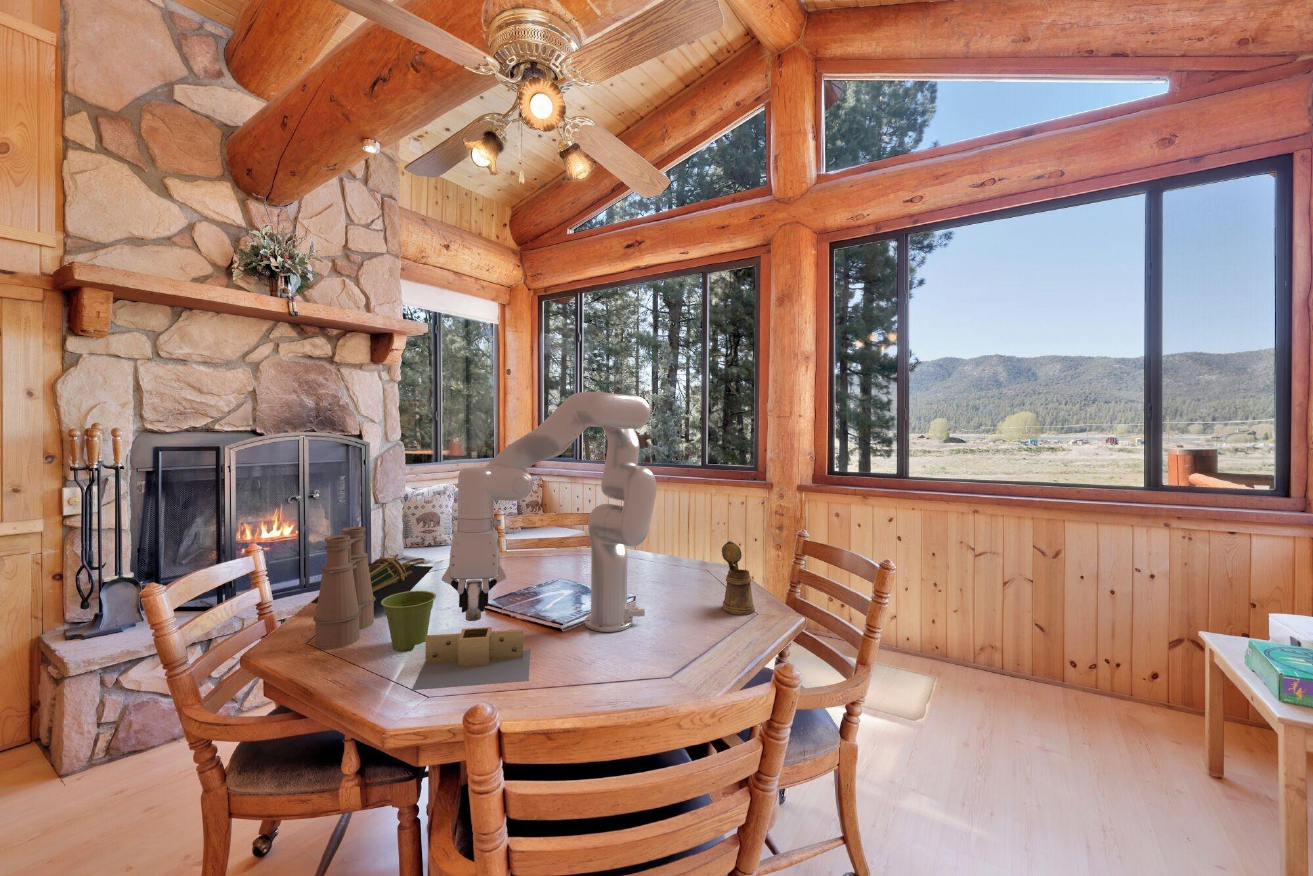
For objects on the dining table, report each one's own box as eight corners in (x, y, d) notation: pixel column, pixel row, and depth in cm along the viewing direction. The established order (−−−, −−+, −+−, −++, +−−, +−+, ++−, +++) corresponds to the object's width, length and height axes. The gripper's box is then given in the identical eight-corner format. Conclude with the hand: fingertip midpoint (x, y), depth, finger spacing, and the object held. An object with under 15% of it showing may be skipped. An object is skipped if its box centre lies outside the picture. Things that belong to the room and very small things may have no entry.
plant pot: (396, 635, 136) (396, 590, 136) (444, 636, 136) (444, 591, 136) (370, 655, 124) (370, 606, 124) (422, 656, 124) (422, 607, 124)
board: (530, 655, 126) (530, 650, 126) (528, 686, 111) (528, 680, 111) (427, 662, 121) (427, 657, 121) (411, 696, 106) (411, 690, 106)
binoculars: (352, 648, 128) (352, 541, 127) (305, 650, 126) (305, 542, 126) (380, 617, 148) (380, 524, 148) (340, 618, 147) (340, 525, 146)
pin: (481, 615, 121) (482, 579, 121) (480, 620, 118) (481, 583, 118) (466, 616, 120) (467, 579, 120) (464, 621, 117) (465, 584, 117)
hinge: (523, 651, 125) (523, 625, 125) (522, 663, 119) (523, 635, 119) (428, 657, 121) (428, 630, 121) (422, 670, 115) (422, 641, 115)
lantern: (312, 626, 152) (371, 569, 180) (395, 636, 151) (441, 577, 180) (308, 583, 148) (369, 531, 176) (393, 593, 147) (440, 540, 176)
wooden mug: (742, 599, 168) (743, 540, 168) (759, 614, 155) (760, 550, 154) (714, 600, 166) (715, 541, 166) (728, 616, 153) (729, 551, 153)
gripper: (515, 522, 124) (513, 603, 125) (438, 522, 121) (436, 606, 121) (514, 528, 117) (512, 614, 117) (431, 528, 114) (429, 617, 114)
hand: (473, 609), depth 119 cm, fingers closed on pin, 3 cm apart
